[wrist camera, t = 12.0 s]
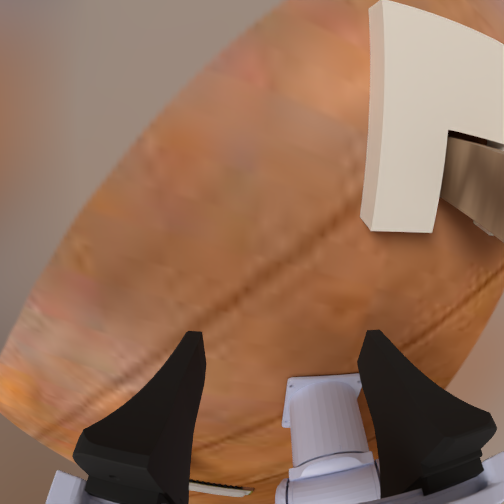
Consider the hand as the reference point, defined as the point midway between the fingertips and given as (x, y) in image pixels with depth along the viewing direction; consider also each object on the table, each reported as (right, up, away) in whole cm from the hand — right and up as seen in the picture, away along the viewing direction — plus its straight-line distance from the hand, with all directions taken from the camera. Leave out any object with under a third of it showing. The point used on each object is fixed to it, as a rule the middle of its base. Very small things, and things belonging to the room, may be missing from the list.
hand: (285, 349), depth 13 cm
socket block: (+14, +13, +5) cm, 20 cm away
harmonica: (-9, -39, +32) cm, 51 cm away
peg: (+14, +11, +6) cm, 19 cm away
